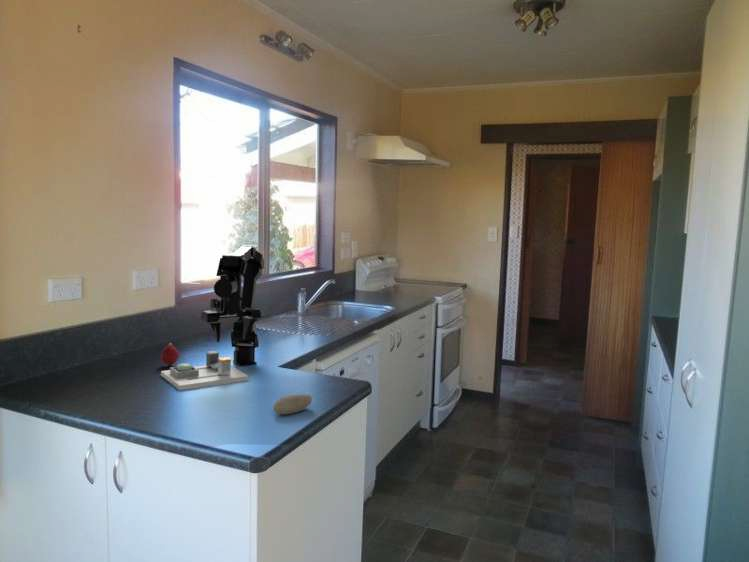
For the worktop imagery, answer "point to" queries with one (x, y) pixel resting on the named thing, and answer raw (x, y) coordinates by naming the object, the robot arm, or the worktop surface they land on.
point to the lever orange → (224, 366)
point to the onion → (169, 355)
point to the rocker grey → (214, 365)
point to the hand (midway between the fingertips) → (231, 340)
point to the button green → (184, 367)
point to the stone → (292, 404)
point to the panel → (201, 377)
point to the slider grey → (211, 358)
